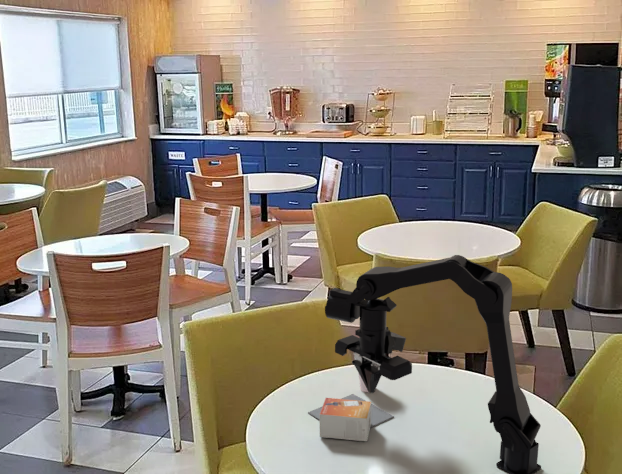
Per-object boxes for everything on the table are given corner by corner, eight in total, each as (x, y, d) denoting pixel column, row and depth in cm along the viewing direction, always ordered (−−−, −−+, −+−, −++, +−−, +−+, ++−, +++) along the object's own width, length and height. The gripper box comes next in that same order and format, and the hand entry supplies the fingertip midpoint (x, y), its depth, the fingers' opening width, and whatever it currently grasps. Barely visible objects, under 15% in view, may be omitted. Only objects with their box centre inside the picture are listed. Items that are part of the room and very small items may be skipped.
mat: (393, 417, 159) (393, 416, 159) (348, 438, 150) (348, 437, 150) (352, 394, 169) (352, 393, 169) (308, 413, 161) (308, 412, 161)
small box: (367, 418, 147) (319, 414, 149) (367, 442, 148) (319, 437, 150) (371, 400, 154) (325, 396, 156) (371, 423, 156) (325, 418, 158)
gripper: (431, 329, 146) (428, 396, 150) (370, 305, 160) (368, 367, 164) (393, 343, 139) (391, 413, 144) (333, 317, 153) (333, 381, 158)
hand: (371, 392), depth 152 cm, fingers closed
